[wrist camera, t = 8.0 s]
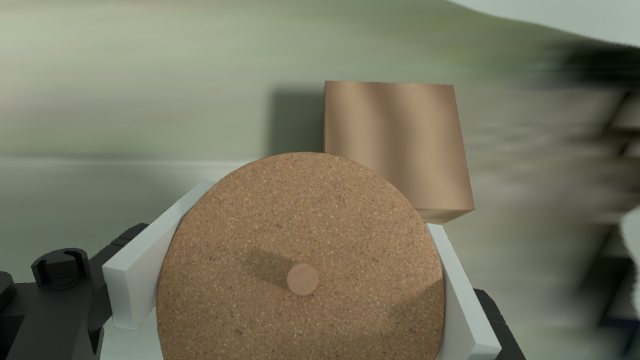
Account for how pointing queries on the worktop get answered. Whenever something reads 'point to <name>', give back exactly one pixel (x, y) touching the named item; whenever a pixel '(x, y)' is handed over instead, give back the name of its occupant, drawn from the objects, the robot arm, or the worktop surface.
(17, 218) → the worktop surface
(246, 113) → the worktop surface
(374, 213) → the lidded jar
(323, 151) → the walnut block
